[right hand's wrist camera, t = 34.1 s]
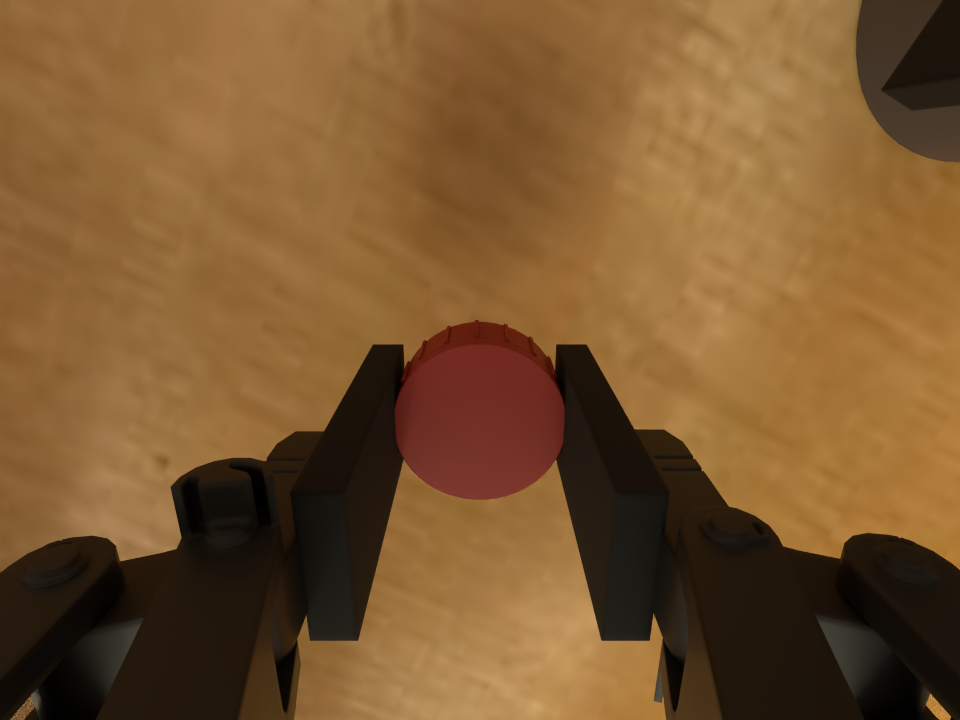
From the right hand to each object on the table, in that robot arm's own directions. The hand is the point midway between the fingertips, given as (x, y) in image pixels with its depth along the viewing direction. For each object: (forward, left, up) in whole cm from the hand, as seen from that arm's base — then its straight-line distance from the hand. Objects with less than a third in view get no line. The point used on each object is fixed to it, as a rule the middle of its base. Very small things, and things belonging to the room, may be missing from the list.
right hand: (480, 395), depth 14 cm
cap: (0, 0, +1) cm, 1 cm away
